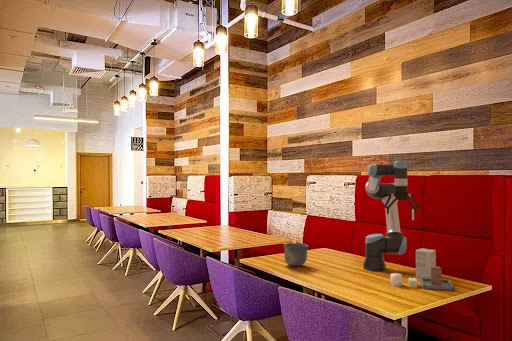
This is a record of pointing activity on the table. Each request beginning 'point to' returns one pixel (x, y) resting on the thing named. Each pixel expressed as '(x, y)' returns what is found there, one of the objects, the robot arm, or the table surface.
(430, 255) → the supplement box
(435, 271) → the walnut block
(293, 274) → the table surface
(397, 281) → the glossy white capsule
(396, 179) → the robot arm
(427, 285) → the tray
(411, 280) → the cream box
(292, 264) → the bowl
